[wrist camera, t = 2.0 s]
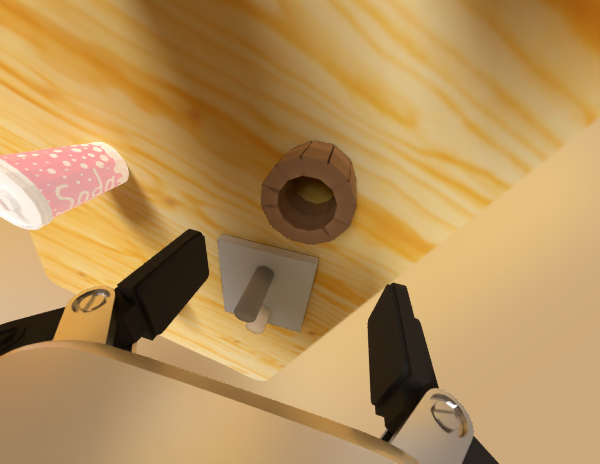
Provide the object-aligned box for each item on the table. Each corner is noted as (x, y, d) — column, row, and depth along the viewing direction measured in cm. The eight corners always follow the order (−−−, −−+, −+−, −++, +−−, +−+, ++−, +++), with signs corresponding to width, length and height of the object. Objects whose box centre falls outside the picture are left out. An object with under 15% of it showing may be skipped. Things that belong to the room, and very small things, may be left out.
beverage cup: (124, 199, 26) (-51, 283, 15) (76, 158, 24) (-166, 219, 13) (143, 169, 23) (-57, 246, 12) (90, 120, 21) (-209, 156, 10)
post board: (222, 234, 26) (184, 276, 20) (318, 258, 25) (307, 310, 19) (228, 304, 34) (202, 349, 28) (301, 325, 33) (290, 376, 27)
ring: (283, 134, 18) (263, 147, 14) (365, 150, 18) (368, 169, 14) (277, 206, 22) (260, 232, 18) (343, 221, 22) (341, 252, 18)
